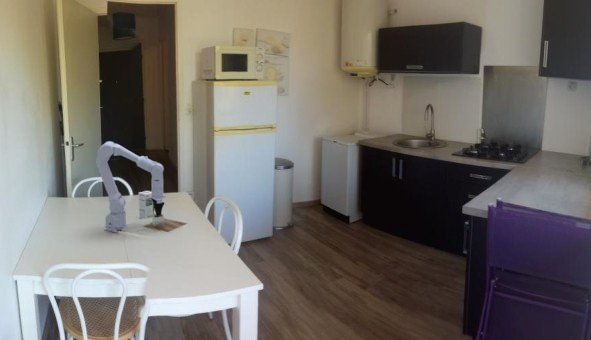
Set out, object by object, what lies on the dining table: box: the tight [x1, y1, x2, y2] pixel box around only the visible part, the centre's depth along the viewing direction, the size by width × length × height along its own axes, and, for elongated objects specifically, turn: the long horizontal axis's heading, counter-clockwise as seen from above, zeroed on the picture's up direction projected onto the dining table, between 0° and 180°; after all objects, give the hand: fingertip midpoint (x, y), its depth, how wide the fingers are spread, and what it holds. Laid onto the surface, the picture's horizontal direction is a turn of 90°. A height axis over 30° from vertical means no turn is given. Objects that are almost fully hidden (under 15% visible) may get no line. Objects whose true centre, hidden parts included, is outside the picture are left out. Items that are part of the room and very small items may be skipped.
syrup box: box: [138, 190, 155, 220], centre depth 262 cm, size 6×6×14 cm
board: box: [142, 218, 188, 233], centre depth 248 cm, size 16×16×2 cm
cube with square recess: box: [151, 213, 165, 227], centre depth 247 cm, size 6×6×5 cm
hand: (157, 213), depth 246 cm, fingers open, 7 cm apart
